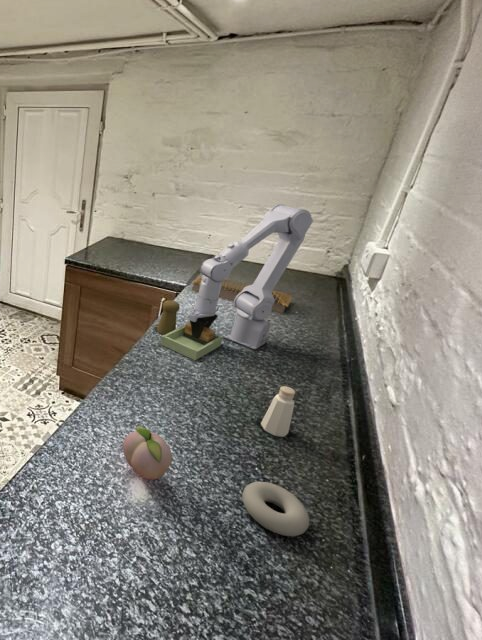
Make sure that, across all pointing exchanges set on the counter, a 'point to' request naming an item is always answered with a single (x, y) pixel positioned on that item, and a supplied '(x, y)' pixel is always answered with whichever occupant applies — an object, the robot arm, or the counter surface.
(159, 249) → the counter surface
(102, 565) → the counter surface
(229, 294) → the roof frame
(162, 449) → the decorative fruit
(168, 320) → the pepper mill
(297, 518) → the donut
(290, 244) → the robot arm
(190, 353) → the tray
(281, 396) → the salt shaker
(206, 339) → the orange brown rectangular block
